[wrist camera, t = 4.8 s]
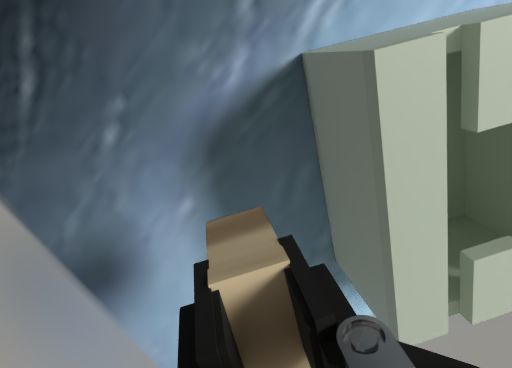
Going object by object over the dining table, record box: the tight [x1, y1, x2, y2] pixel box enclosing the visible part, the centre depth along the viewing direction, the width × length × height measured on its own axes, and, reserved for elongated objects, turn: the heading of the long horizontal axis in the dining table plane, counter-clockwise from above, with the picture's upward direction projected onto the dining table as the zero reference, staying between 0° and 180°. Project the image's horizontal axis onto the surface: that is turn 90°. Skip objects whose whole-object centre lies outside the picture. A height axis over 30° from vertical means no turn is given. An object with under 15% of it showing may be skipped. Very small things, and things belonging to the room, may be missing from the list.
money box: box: [301, 3, 512, 346], centre depth 20 cm, size 16×12×9 cm
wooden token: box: [206, 206, 311, 368], centre depth 13 cm, size 4×2×5 cm, turn 13°
